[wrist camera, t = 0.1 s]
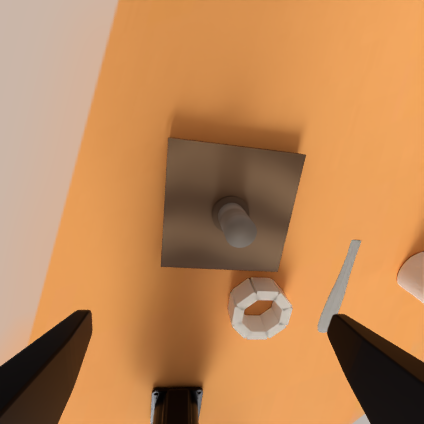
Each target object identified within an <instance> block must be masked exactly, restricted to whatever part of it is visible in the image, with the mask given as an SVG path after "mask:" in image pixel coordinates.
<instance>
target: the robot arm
mask: <svg viewBox="0 0 424 424" xmlns="http://www.w3.org/2000/svg"><path fill="white" fill-rule="evenodd" d="M91 335H92V313H91V311H90V310H77V311H75V312H74V313H72V314H71V315H70V316H68V317H67V318H66V319H64V320H63V321H62V322H60V323H59V324H57V325H56V326H55V327H53V328H52V329H51V330H49V331H48V332H47V333H45V334H44V335H42V336H41V337H40V338H38V339H37V340H36V341H34V342H33V343H32V344H30V345H29V346H27V347H26V348H25V349H23V350H22V351H21V352H19V353H18V354H17V355H15V356H14V357H13V358H11V359H10V360H8V361H7V362H6V363H4V364H3V365H2V366H0V424H58V422H59V420H60V417H61V415H62V413H63V411H64V408H65V406H66V404H67V402H68V399H69V397H70V395H71V393H72V390H73V388H74V385H75V382H76V380H77V377H78V374H79V371H80V368H81V365H82V362H83V359H84V356H85V353H86V350H87V347H88V344H89V341H90V338H91ZM327 335H328V338H329V340H330V342H331V345H332V347H333V349H334V351H335V354H336V356H337V358H338V361H339V363H340V365H341V367H342V370H343V372H344V374H345V376H346V378H347V380H348V382H349V384H350V386H351V388H352V390H353V392H354V394H355V396H356V397H357V399H358V401H359V403H360V405H361V407H362V409H363V410H364V412H365V414H366V416H367V418H368V420H369V422H370V423H371V424H424V362H422V361H420V360H419V359H417V358H416V357H414V356H412V355H411V354H409V353H407V352H406V351H404V350H402V349H401V348H399V347H398V346H396V345H394V344H393V343H391V342H389V341H388V340H386V339H384V338H383V337H381V336H379V335H378V334H376V333H375V332H373V331H371V330H370V329H368V328H366V327H365V326H363V325H361V324H360V323H358V322H356V321H355V320H353V319H352V318H350V317H348V316H347V315H345V314H334V315H333V316H332V318H331V321H330V323H329V326H328V329H327ZM202 395H203V389H202V387H178V388H155V389H153V391H152V404H151V424H199V422H198V420H199V414H200V408H201V401H202Z"/></svg>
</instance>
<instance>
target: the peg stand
mask: <svg viewBox="0 0 424 424" xmlns="http://www.w3.org/2000/svg"><path fill="white" fill-rule="evenodd" d="M305 157H306V155H304V154H298V153H290V152H282V151H274V150H266V149H258V148H250V147H241V146H233V145H225V144H217V143H209V142H201V141H193V140H185V139H177V138H168V152H167V169H166V186H165V204H164V221H163V239H162V256H161V267H179V268H202V269H224V270H247V271H270V272H278V268H279V264H280V260H281V256H282V251H283V247H284V243H285V239H286V235H287V231H288V227H289V223H290V218H291V214H292V210H293V206H294V202H295V198H296V194H297V190H298V186H299V181H300V177H301V173H302V169H303V165H304V161H305Z"/></svg>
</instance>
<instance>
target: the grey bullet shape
mask: <svg viewBox="0 0 424 424" xmlns="http://www.w3.org/2000/svg"><path fill="white" fill-rule="evenodd" d="M397 282H398V284H399V286H401V287H402V288H404V289H405V290H406V291H408V292H409V293H411V294H412V295H413V296H415V297H416V298H417V299H419V300H420V301H421V302H422V303H424V252H420V253H418V254H415V255H413V256H412V257H410V258H409V259H408V260H407V261H406V262H405V263H404V264H403V266H402V267H401V268H400V270H399V273H398V276H397Z"/></svg>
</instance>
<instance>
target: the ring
mask: <svg viewBox="0 0 424 424" xmlns="http://www.w3.org/2000/svg"><path fill="white" fill-rule="evenodd" d="M257 300H273V302H272V306H271V308H270V309H268V310H267V311H265V312H264V313H262V314H261V315H245V314H244V310H245V309H246V308H247V307H249V306H250V305H252V304H253V303H255V302H256V301H257ZM292 309H293V308H292V305H291V303H290V302H289V300H288V298H287V297H286V295H285V294H284V292H283V291H282V289H281V288H280V287H279V286H278V285H277V284H276V282H275V281H274V280H273V279H272V280H271V278H258V277H251V280H249V278H248V279H246V280H245V281H243V282H242V283H241V284H239V285H238V286H237V287H235V288H234V289H232V292H230V298H229V303H228V312H229V316H230V320H231V324H232V327H233V328H234V329H235V330H236V331H237V332H238V333H239V334H240V335H241V336H242V337H243V338H247V339H267V337H268V338H271V337H272V336H274V335H275V334H277V333H278V332H280V331H281V330H283V329H284V328H286V326H285V325H288V323H289V319H290V316H291V312H292Z"/></svg>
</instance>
